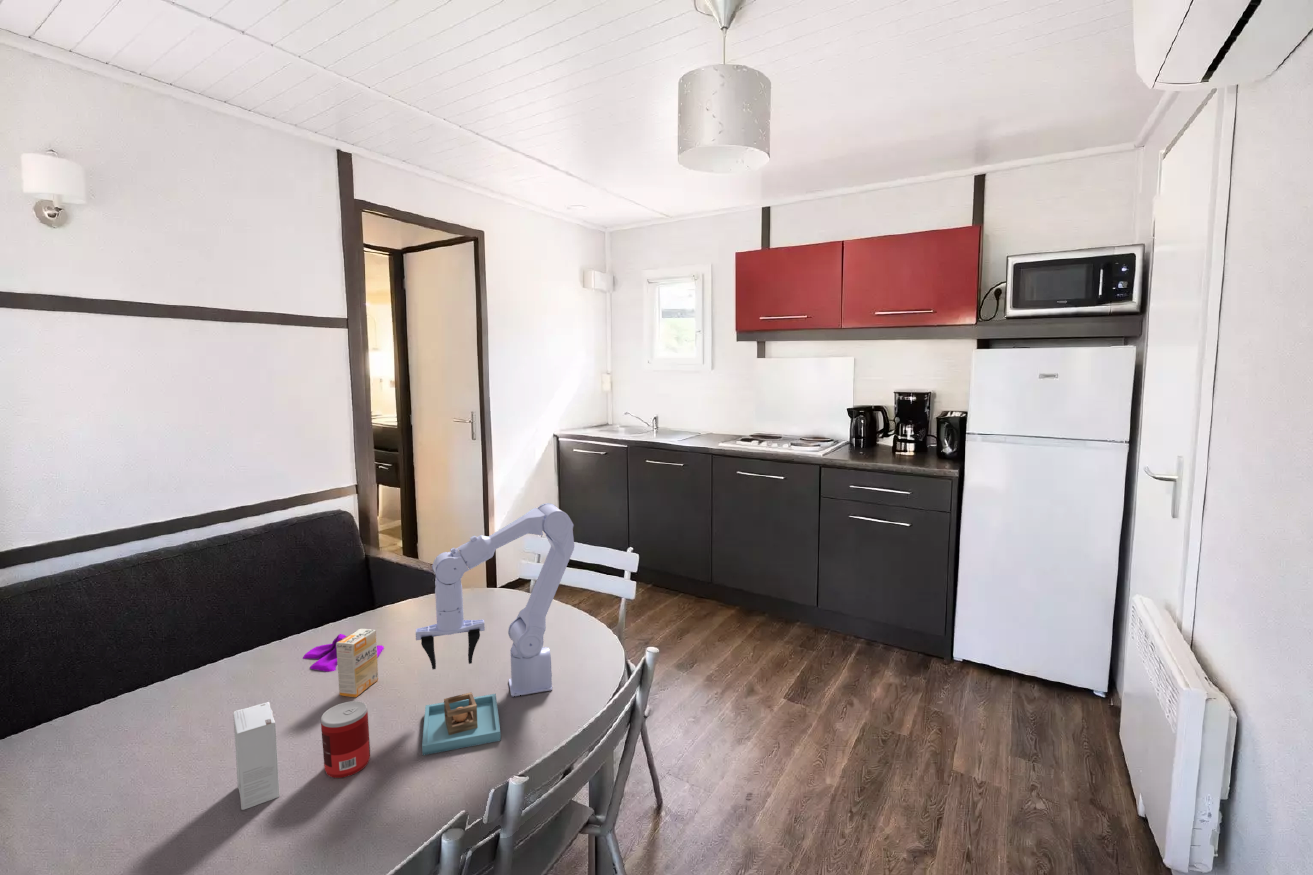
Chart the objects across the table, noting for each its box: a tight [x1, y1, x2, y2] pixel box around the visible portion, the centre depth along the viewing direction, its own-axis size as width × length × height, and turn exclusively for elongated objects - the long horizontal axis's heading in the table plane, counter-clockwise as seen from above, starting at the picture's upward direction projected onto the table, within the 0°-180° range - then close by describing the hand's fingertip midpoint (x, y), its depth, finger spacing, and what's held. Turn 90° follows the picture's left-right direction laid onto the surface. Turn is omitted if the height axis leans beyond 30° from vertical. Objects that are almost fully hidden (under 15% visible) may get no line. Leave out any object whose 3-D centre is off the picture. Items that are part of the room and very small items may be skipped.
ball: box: [453, 707, 467, 722], centre depth 128 cm, size 3×3×3 cm
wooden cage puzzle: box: [443, 691, 478, 735], centre depth 128 cm, size 6×6×5 cm
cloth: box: [302, 633, 385, 673], centre depth 161 cm, size 22×19×6 cm
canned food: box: [320, 700, 371, 779], centre depth 115 cm, size 8×8×11 cm
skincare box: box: [232, 701, 280, 811], centre depth 108 cm, size 8×6×15 cm
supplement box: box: [336, 628, 379, 698], centre depth 143 cm, size 8×5×13 cm, turn 168°
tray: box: [421, 693, 501, 756], centre depth 128 cm, size 15×15×2 cm
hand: (452, 664), depth 136 cm, fingers open, 7 cm apart
